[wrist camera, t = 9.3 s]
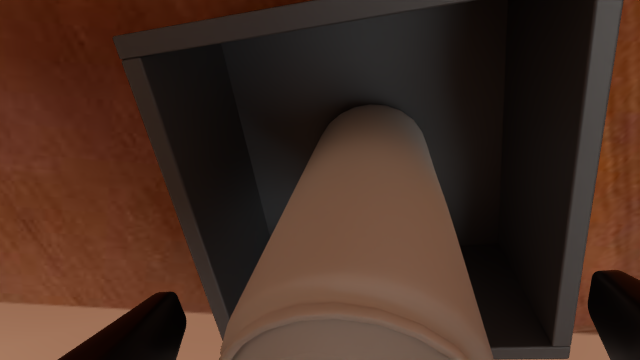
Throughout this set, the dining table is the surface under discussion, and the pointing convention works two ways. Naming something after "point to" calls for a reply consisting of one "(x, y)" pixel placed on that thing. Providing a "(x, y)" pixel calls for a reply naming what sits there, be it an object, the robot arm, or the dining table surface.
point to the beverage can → (361, 257)
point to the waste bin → (416, 102)
